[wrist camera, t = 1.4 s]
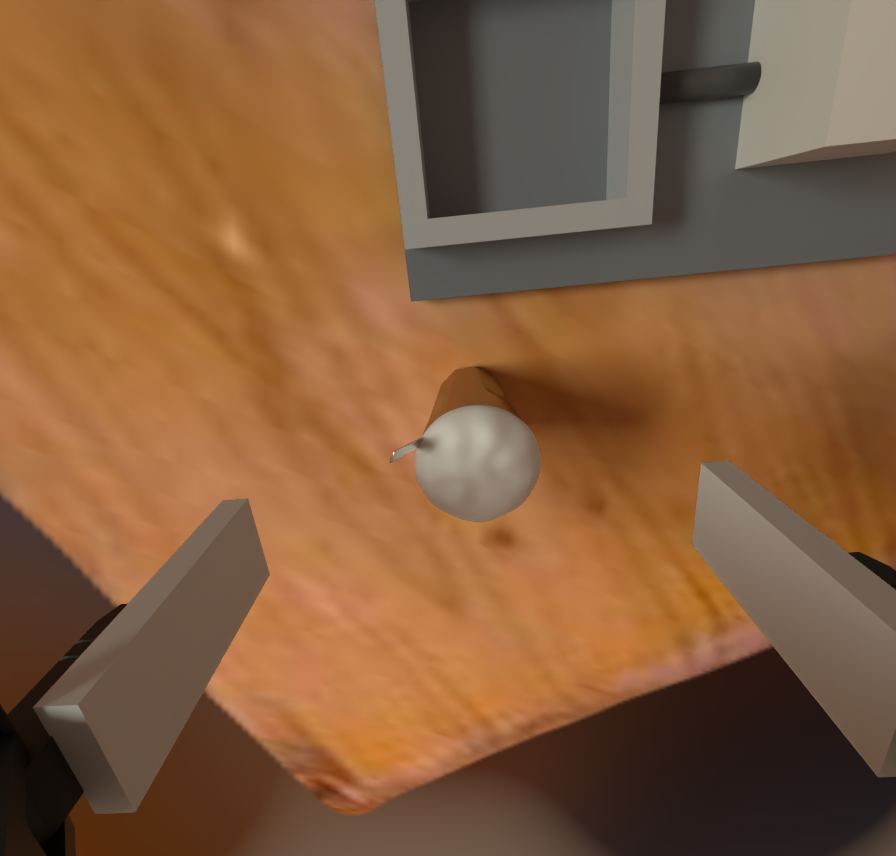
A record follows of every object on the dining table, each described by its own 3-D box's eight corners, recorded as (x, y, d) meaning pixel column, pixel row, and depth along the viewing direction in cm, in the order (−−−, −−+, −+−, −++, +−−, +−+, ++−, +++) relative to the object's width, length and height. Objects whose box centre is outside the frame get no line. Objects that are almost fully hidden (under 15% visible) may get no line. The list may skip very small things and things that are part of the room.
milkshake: (433, 332, 23) (420, 393, 14) (529, 375, 24) (577, 461, 14) (399, 410, 25) (366, 513, 15) (489, 448, 25) (510, 569, 16)
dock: (366, -90, 17) (323, -256, 11) (988, -174, 16) (1283, -404, 10) (413, 298, 22) (399, 318, 17) (885, 252, 21) (1044, 256, 16)
